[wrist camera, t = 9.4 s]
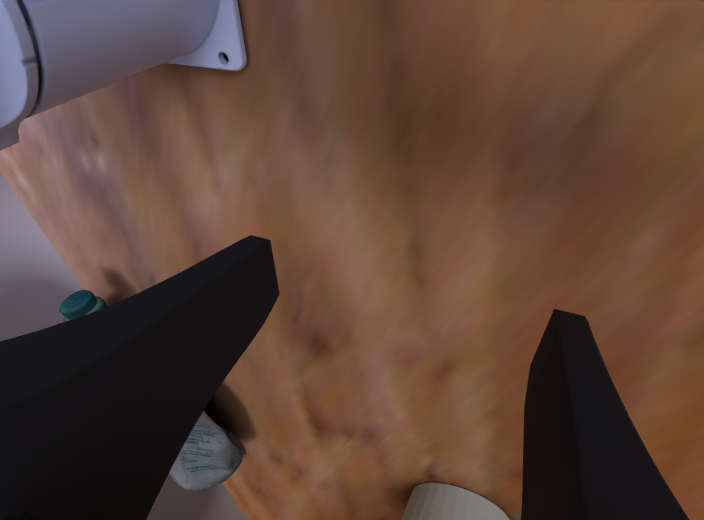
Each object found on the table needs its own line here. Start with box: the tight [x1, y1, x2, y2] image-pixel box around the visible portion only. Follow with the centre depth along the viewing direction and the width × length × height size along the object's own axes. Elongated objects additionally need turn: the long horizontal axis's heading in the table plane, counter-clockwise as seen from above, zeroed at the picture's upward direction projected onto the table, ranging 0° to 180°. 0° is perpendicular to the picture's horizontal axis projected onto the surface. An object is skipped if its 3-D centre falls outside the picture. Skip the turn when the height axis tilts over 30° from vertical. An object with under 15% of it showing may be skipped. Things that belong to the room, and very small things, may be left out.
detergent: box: [59, 290, 246, 490], centre depth 40 cm, size 13×7×25 cm
